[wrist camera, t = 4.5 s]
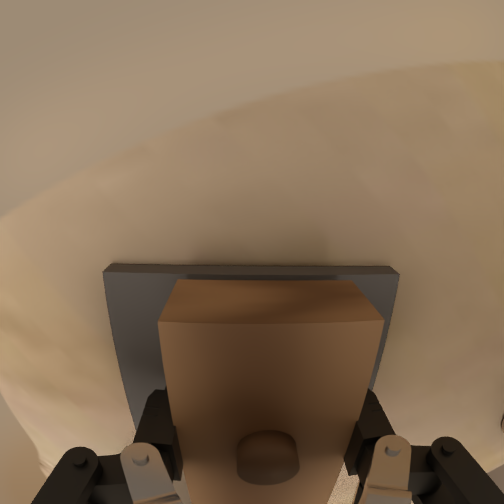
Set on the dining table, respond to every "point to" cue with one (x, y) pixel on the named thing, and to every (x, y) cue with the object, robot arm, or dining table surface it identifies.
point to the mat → (165, 277)
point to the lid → (266, 384)
